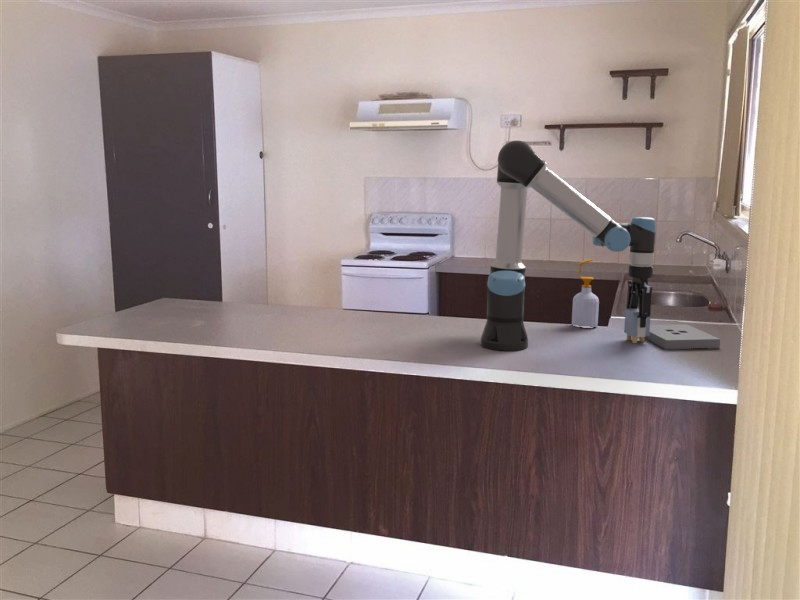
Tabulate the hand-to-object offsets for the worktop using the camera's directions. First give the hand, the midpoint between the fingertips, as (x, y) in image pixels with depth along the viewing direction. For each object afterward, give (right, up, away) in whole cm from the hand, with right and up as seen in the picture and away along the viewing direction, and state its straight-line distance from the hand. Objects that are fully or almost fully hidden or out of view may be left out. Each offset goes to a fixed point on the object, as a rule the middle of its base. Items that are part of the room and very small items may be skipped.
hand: (636, 334), depth 242 cm
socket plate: (+14, -2, +2) cm, 14 cm away
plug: (0, -2, 0) cm, 2 cm away
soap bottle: (-11, +2, +23) cm, 26 cm away
